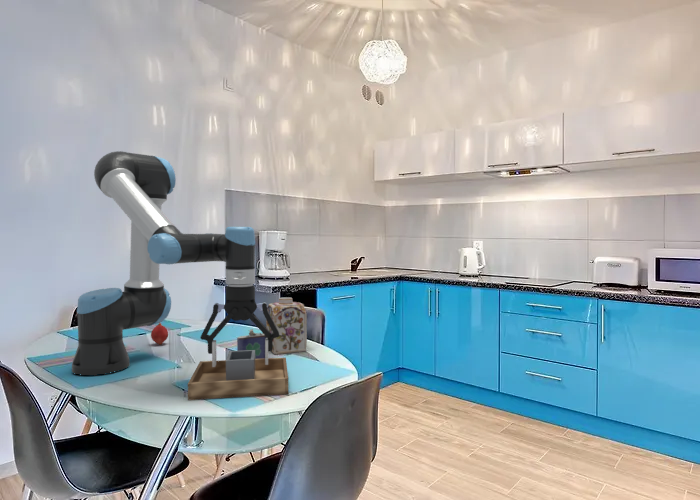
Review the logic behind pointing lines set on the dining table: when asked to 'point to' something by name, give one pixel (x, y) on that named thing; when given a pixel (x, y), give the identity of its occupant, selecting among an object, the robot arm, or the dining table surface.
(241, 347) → the flask
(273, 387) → the tray
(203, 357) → the dining table surface
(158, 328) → the onion
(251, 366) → the small crate
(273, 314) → the decorative jar
